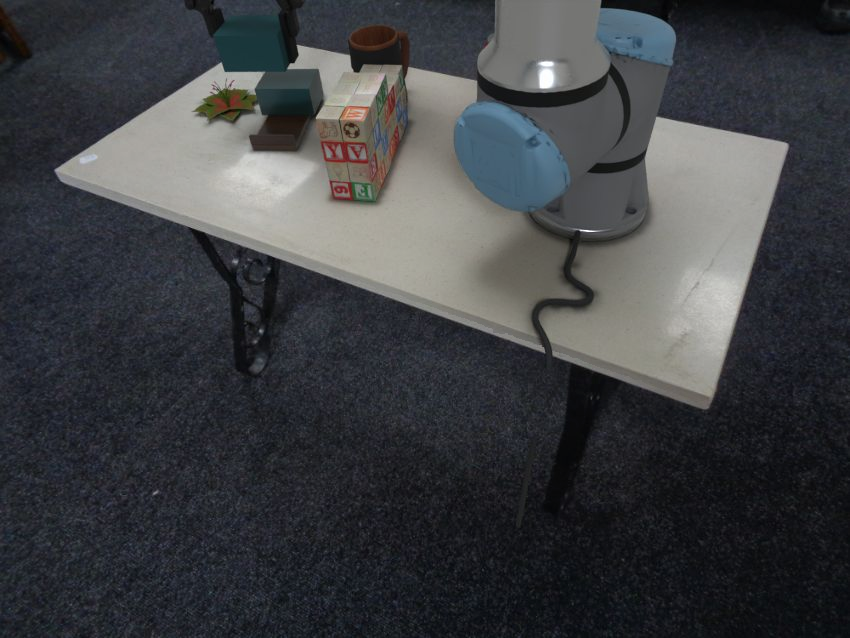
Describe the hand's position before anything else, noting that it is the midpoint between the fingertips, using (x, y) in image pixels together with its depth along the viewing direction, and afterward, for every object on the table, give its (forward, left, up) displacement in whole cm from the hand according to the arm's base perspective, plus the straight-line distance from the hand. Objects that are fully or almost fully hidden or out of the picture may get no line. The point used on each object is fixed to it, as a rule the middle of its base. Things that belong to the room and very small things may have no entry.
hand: (261, 59), depth 81 cm
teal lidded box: (+4, 0, -12) cm, 12 cm away
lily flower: (+9, +12, -12) cm, 19 cm away
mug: (+10, -16, -12) cm, 22 cm away
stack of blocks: (-7, -16, -12) cm, 21 cm away
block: (0, 0, 0) cm, 0 cm away
